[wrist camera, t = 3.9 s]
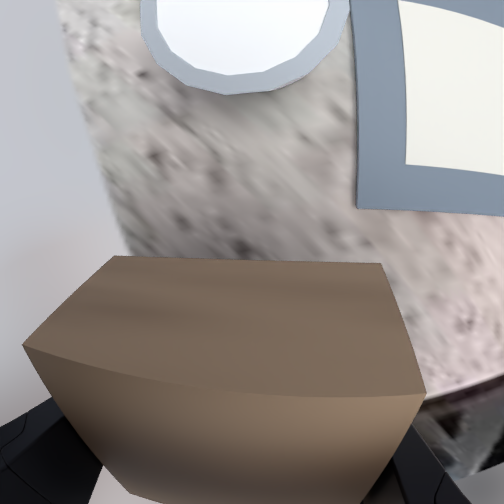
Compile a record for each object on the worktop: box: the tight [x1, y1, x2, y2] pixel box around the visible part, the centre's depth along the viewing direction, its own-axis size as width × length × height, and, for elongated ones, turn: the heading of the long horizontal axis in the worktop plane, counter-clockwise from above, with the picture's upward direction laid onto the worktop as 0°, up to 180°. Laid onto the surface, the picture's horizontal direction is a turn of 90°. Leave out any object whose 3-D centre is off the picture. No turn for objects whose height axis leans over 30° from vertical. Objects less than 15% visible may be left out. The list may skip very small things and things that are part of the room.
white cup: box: [140, 0, 350, 95], centre depth 10 cm, size 7×7×7 cm
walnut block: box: [22, 256, 427, 504], centre depth 7 cm, size 7×7×4 cm
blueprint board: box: [349, 0, 504, 217], centre depth 12 cm, size 14×14×1 cm
